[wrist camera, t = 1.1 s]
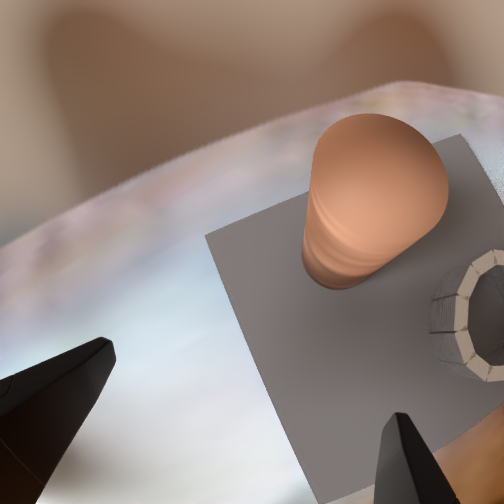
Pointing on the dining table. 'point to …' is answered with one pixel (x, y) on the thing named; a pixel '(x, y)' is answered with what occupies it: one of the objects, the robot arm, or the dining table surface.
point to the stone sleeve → (465, 319)
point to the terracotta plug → (369, 198)
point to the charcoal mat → (364, 330)
